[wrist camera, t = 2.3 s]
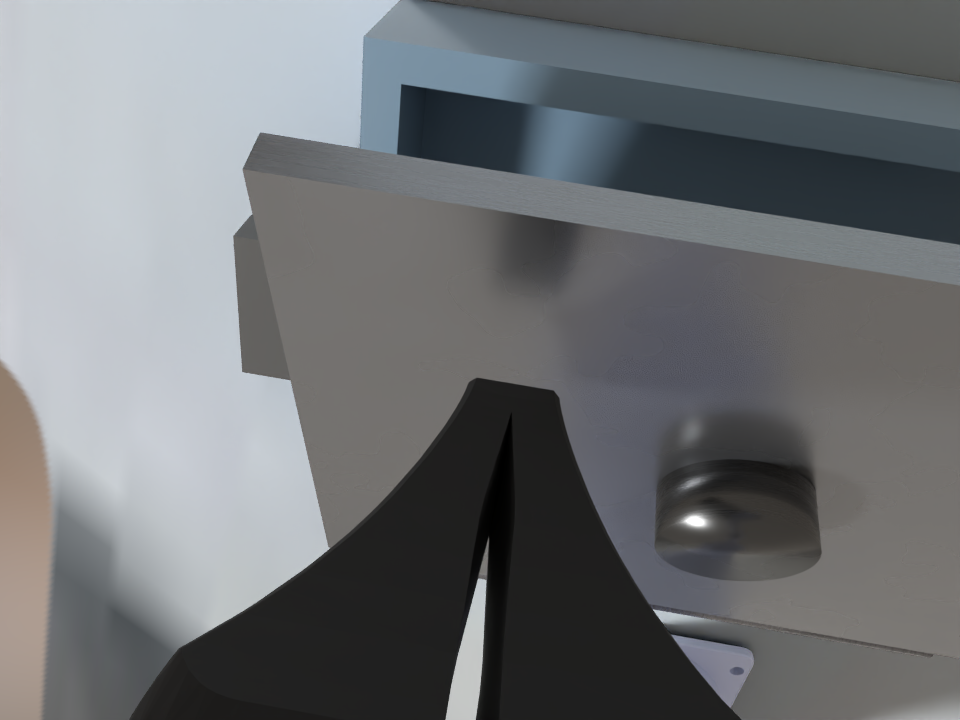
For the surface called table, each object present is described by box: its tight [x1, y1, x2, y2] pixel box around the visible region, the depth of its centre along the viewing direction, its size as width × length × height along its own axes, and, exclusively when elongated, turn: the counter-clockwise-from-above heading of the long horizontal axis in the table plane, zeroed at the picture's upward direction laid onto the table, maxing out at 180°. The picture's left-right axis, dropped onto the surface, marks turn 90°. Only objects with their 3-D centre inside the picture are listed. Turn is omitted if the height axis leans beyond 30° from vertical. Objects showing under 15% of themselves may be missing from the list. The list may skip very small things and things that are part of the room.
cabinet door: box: [243, 133, 960, 659], centre depth 17 cm, size 15×19×2 cm
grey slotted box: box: [233, 0, 960, 380], centre depth 21 cm, size 14×24×4 cm, turn 83°
